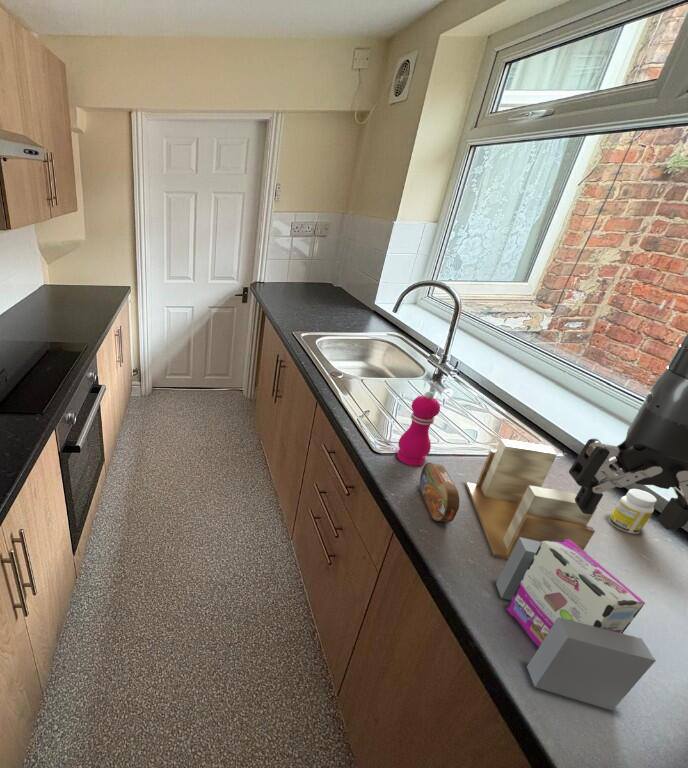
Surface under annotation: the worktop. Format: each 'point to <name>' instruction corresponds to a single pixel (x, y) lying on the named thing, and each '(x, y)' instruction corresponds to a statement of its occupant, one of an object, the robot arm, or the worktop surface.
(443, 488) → the tin
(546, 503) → the book rack
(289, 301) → the worktop surface
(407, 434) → the pepper mill
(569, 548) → the candy bar box
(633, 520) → the supplement bottle
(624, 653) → the grey blocks
